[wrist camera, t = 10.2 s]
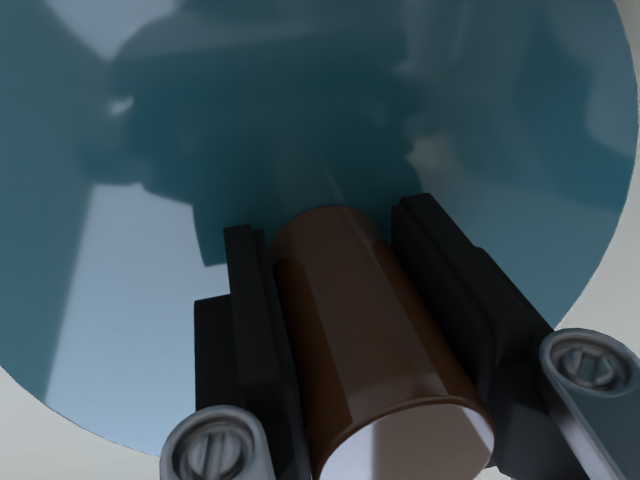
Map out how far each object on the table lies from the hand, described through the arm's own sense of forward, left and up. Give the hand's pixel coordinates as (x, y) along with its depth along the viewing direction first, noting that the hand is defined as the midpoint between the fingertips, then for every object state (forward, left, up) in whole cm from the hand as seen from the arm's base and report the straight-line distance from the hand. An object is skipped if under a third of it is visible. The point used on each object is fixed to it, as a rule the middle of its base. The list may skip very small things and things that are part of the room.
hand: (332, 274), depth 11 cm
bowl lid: (0, 0, -1) cm, 1 cm away
